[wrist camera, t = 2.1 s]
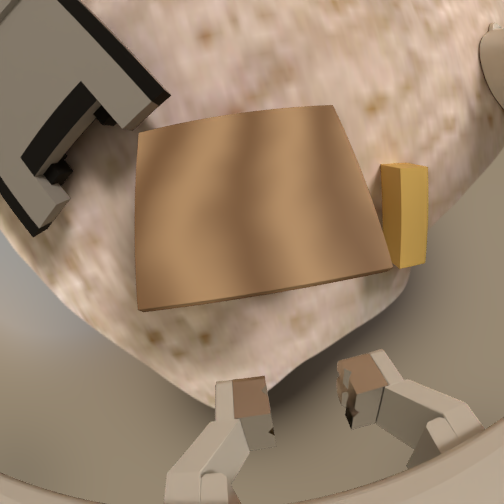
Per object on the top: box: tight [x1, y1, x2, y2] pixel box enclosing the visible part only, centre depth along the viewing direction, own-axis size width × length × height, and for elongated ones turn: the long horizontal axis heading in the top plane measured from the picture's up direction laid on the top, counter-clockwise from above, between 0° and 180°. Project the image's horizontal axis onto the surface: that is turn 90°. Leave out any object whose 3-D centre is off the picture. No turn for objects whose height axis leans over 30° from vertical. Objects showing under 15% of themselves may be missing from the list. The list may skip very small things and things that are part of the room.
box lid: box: [135, 105, 393, 312], centre depth 21 cm, size 16×14×1 cm
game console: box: [0, 0, 171, 237], centre depth 22 cm, size 21×32×8 cm, turn 39°
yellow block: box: [380, 163, 428, 269], centre depth 34 cm, size 4×12×5 cm, turn 8°
